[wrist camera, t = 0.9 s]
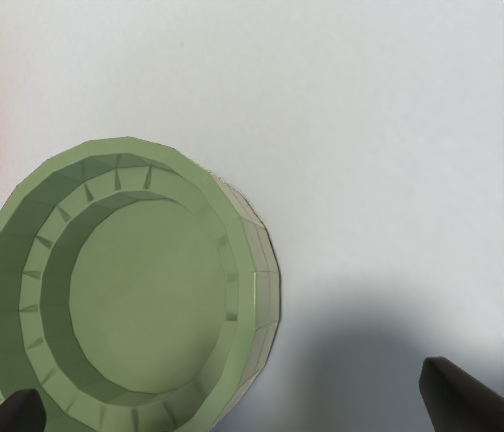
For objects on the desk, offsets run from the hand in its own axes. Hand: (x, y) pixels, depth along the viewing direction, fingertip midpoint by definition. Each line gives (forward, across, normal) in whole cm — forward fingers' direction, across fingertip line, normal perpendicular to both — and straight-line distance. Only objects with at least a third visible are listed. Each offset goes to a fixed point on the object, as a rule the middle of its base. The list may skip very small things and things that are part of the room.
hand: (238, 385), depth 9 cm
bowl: (+12, +4, +6) cm, 14 cm away
